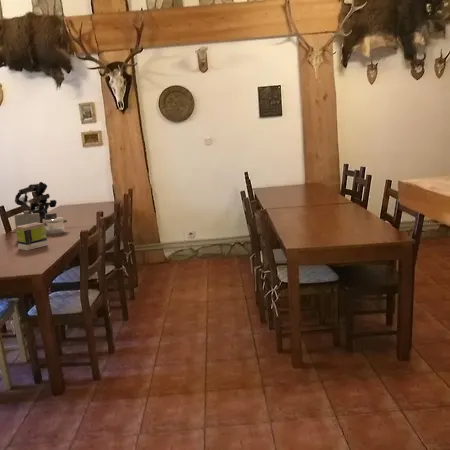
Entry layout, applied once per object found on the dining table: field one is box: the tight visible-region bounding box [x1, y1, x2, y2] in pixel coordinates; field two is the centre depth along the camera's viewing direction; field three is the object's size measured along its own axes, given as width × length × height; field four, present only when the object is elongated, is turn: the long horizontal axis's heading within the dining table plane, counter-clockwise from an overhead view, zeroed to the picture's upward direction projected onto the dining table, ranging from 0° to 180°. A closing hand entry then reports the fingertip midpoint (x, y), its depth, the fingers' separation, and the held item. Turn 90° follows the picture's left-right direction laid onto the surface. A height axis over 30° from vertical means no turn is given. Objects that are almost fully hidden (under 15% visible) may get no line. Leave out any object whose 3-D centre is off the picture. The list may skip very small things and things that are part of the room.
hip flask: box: [13, 210, 40, 242], centre depth 356 cm, size 16×4×20 cm, turn 104°
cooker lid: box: [43, 212, 65, 223], centre depth 375 cm, size 14×14×4 cm
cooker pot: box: [43, 219, 68, 236], centre depth 376 cm, size 13×18×9 cm
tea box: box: [15, 222, 49, 251], centre depth 332 cm, size 15×10×15 cm, turn 141°
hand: (46, 213), depth 385 cm, fingers closed
